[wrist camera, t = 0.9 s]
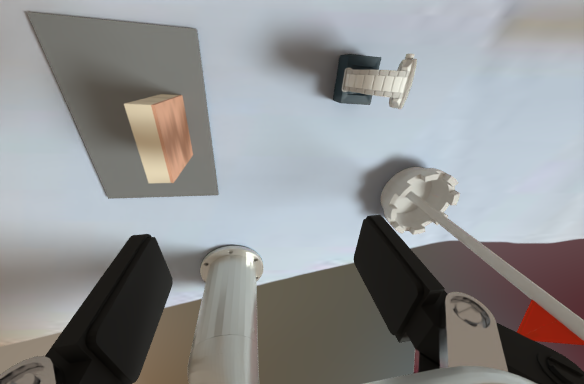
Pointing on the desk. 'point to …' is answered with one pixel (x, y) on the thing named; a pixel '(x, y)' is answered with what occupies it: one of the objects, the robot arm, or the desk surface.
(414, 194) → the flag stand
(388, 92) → the watch
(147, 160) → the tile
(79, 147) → the desk surface
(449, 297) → the robot arm
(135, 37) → the mat
